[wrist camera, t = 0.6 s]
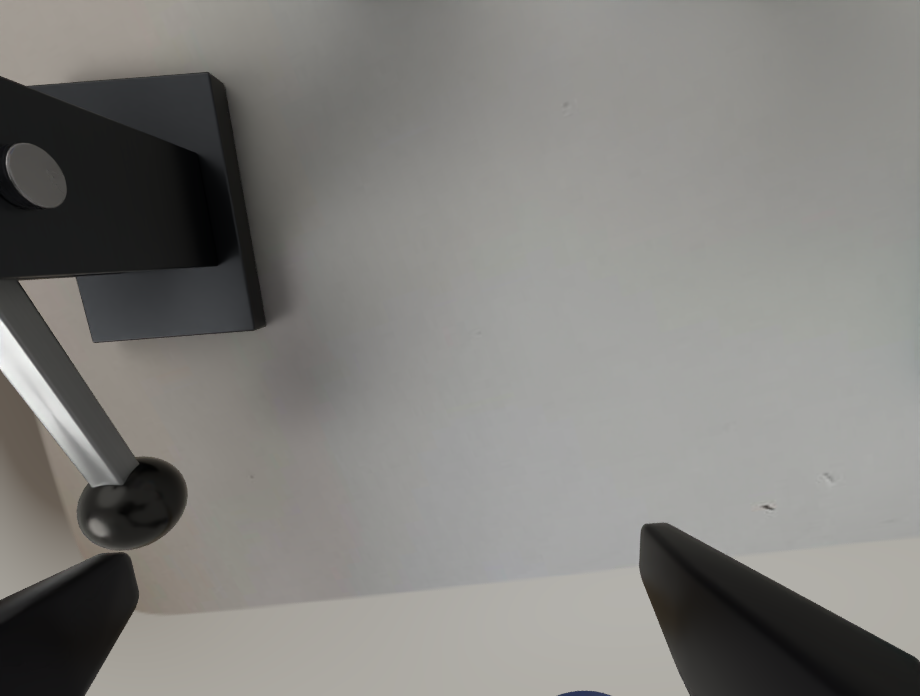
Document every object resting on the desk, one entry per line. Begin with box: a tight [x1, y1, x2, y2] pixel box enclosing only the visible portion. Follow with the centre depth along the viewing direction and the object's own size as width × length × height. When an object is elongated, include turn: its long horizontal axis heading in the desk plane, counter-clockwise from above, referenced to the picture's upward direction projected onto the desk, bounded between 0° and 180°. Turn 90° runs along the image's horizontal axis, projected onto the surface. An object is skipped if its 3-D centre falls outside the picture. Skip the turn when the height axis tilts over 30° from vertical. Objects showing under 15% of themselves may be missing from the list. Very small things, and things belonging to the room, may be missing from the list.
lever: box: [0, 278, 188, 551], centre depth 13 cm, size 14×3×3 cm, turn 5°
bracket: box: [0, 72, 266, 343], centre depth 13 cm, size 10×7×11 cm
